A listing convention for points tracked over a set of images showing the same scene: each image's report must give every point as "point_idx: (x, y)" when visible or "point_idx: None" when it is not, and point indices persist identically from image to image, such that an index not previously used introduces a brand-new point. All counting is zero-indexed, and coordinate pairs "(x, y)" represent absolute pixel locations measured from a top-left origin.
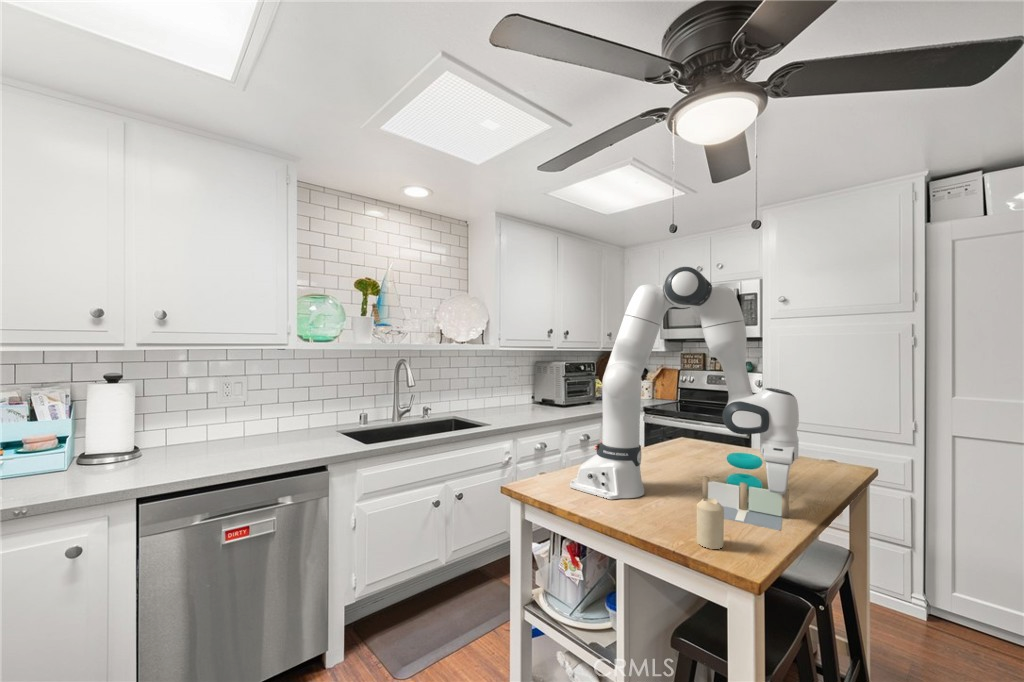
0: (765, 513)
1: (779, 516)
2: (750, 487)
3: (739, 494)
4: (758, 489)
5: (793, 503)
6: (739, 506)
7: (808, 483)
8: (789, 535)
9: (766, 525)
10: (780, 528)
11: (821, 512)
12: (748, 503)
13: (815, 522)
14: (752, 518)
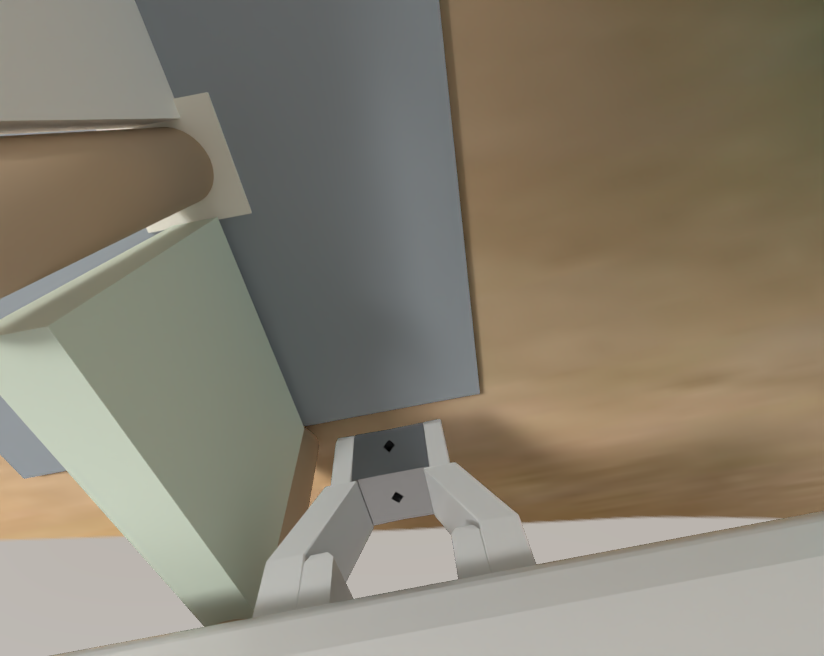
0: None
1: None
2: (4, 361)
3: (49, 124)
4: (64, 464)
5: (664, 397)
6: (167, 119)
7: None
8: (34, 506)
9: (3, 409)
10: (56, 470)
11: (571, 514)
12: (407, 153)
13: (378, 529)
14: (26, 302)
